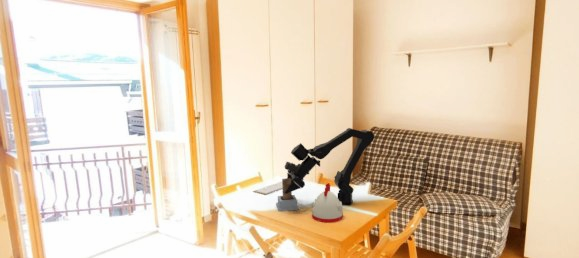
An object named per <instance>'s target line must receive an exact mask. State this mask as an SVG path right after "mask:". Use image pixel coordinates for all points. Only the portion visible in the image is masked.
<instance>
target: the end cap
mask: <svg viewBox="0 0 579 258" xmlns="http://www.w3.org/2000/svg"><path fill="white" fill-rule="evenodd" d="M275 204H276V208H277V211H278V212H287V211H288V212H289V211H299V210H300V207H299V205H298V199H297V197H296V195H295V194H292V200H283V195H278V196H277V202H275Z"/></svg>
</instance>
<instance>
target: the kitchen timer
mask: <svg viewBox="0 0 579 258" xmlns="http://www.w3.org/2000/svg"><path fill="white" fill-rule="evenodd" d="M311 218H312V219H313V220H314V221H316V222H320V223H324V224H325V223H328V224H329V223H336V222H337V223H338V222H340V221H342V220H343V218H344V211H343V204H342V202H340V201H339V199H338V195H336V194H335V193H334V192H332V191H331V183H329V182H327V183H326V184H325V188H324V190H323V191H322V192H320V193H319V195H318V196H317V197H316V198H315V199H314V202H313V203H312V210H311Z"/></svg>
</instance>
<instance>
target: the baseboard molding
mask: <svg viewBox="0 0 579 258" xmlns="http://www.w3.org/2000/svg"><path fill="white" fill-rule="evenodd" d="M280 190H281V191H282V190H283V188H282V181H279V182H276V183H273V184H270V185H268V186H264V187H262V188H258V189H255V190H253V191H252V192H253V193H256V194H260V195H265V196H267V195H270V194H272V193H275V191H276V192H279V191H280Z"/></svg>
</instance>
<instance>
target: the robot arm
mask: <svg viewBox="0 0 579 258" xmlns="http://www.w3.org/2000/svg"><path fill="white" fill-rule="evenodd" d="M351 138H356V145H355V147H354V148H353V151H352V152H351V155H350V156H349V158H348V160H347V161H346V164H345V166H344V167H343V169H342V170H341V171H339V170H337V171H336V172H337V173H336V174H335V176H334V177H333V178H334V179H333V180H334V181H333V182H334V185H335V186H336V187H337V188H338V193H337V198H338V199H339V201H340V202H342V205H347V206H352V203H354V200H353V193H354V188H353V187H352V186H351V185H350V184H351V181H352V173H353V172H354V170H355V168H356V166H357V164H358V163H359V161H360V159H361V157H362V156H363V153H364V152H365V150H366V149H367V148H368V147H369V146H370V145H371V144H372V142H373V141H374V140H375V133H373V132H372V131H370V130H367V129H362V130H359V129H354V128H352V127H348V128H346V129H345V130H344V131H342V132H341V133H339V134H338V135H336V136H334V137H333V138H331V139H330V140H328V141H326V142H324V143H321V144H318V145H316V146H314V147H313V148H309V149H307V148H306V147H305V146H304V144H303V143H299V144H297V145H296V146H294V147H293V149H292V150H291V152H290V154H291V155H293V157H295V158H296V159H297V160H298V161H299V162H301V161H302V162H301V163H298V164H295V163H293V162H290V161H285V164H284V169H285V170H287V172H286V175H287V177H286V178H290V179H291V184H290V185H289V186H288V188H287V189H286V191H285V193H286V194H287V193H289V192H292V193H293V192H294V191H296V190H299V189H303V188H304V187H305V186H306V184H305V181H304V180H305V179H304V178H305V177H306V176H307V175H309V174H310V171H312V169H313V168H314V167H316V165H317V166H318V167H321V160H323V159H324V158H326V157H327V156H328V155H329V154H330V153H331V152H332V150H333V149H335V148H338V146H340V145H341V144H343V143H345V142H346V141H347V140H349V139H351Z"/></svg>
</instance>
